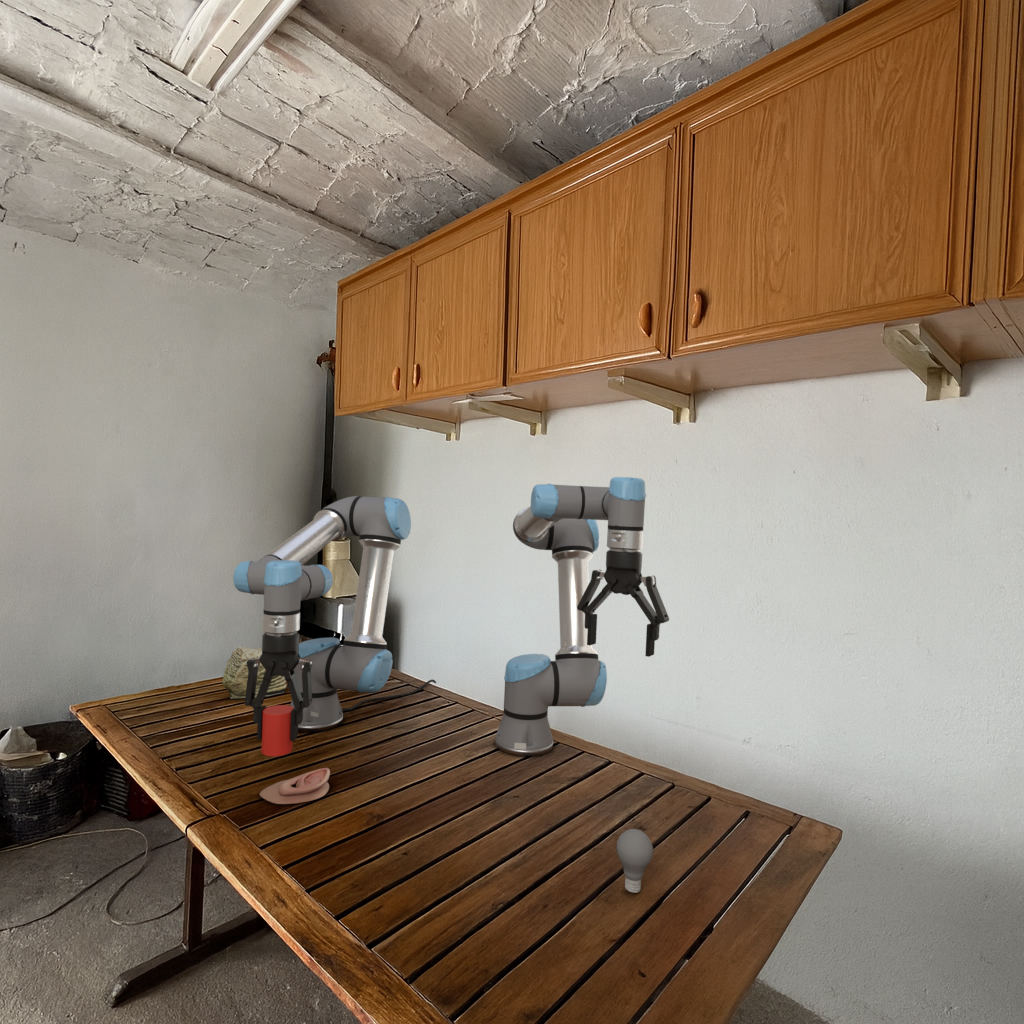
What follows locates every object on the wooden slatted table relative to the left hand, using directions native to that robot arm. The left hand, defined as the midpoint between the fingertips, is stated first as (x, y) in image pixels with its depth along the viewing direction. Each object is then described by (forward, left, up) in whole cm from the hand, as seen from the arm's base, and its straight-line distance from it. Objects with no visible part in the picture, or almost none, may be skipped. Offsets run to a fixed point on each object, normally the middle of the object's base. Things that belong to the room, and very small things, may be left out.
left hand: (277, 737), depth 137 cm
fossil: (-29, -61, -11) cm, 68 cm away
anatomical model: (-1, +6, -11) cm, 12 cm away
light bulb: (-20, +76, -11) cm, 79 cm away
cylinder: (0, 0, -3) cm, 3 cm away
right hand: (-44, +58, +23) cm, 77 cm away
